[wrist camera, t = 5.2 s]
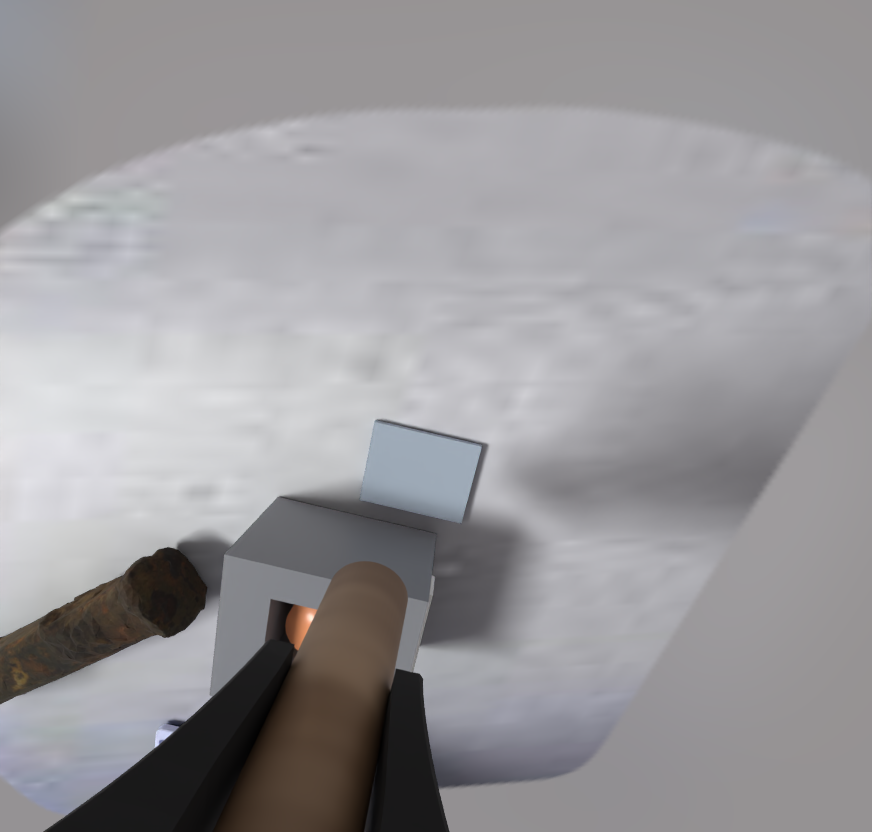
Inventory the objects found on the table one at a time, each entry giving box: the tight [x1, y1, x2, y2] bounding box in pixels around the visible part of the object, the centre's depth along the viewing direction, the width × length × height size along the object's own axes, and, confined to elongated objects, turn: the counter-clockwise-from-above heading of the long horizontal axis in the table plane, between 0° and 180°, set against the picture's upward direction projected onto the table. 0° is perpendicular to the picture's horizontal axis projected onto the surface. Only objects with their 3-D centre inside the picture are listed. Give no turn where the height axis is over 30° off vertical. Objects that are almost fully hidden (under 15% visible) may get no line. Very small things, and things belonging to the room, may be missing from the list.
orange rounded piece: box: [285, 604, 317, 650], centre depth 20 cm, size 3×3×2 cm
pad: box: [360, 420, 482, 524], centre depth 21 cm, size 4×5×1 cm
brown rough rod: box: [0, 547, 207, 704], centre depth 23 cm, size 19×4×5 cm, turn 116°
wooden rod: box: [213, 561, 408, 832], centre depth 10 cm, size 3×3×9 cm
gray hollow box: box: [210, 497, 437, 696], centre depth 20 cm, size 7×8×5 cm
